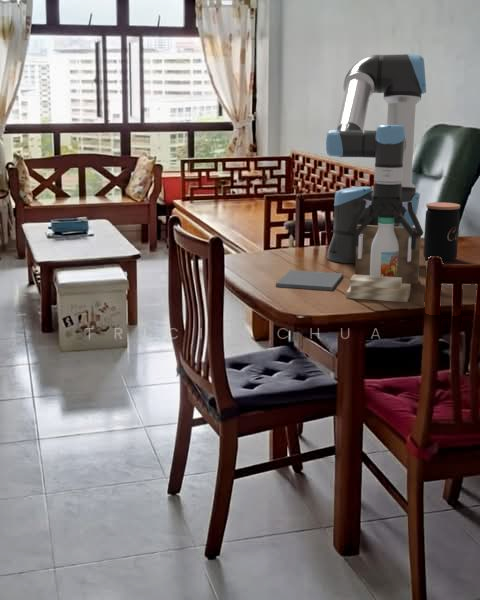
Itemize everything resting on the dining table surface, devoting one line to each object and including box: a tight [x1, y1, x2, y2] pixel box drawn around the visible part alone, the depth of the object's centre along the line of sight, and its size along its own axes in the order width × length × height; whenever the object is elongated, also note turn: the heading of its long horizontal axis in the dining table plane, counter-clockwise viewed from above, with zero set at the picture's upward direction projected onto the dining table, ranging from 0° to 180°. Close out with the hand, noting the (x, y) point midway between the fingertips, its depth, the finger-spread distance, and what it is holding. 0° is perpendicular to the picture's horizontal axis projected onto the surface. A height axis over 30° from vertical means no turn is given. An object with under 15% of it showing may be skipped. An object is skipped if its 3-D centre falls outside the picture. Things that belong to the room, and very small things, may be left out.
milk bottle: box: [370, 216, 399, 277], centre depth 234 cm, size 8×8×20 cm
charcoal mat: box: [275, 269, 344, 292], centre depth 243 cm, size 16×18×1 cm
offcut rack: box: [345, 225, 422, 303], centre depth 233 cm, size 18×26×16 cm
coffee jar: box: [422, 201, 461, 263], centre depth 272 cm, size 11×11×18 cm
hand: (384, 259), depth 234 cm, fingers open, 13 cm apart
